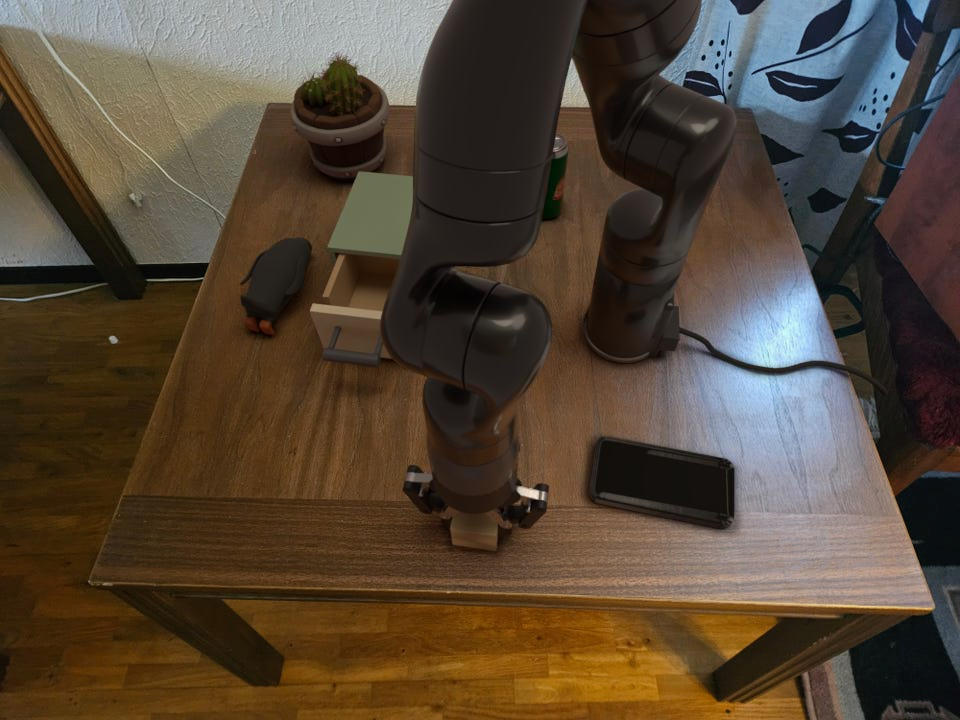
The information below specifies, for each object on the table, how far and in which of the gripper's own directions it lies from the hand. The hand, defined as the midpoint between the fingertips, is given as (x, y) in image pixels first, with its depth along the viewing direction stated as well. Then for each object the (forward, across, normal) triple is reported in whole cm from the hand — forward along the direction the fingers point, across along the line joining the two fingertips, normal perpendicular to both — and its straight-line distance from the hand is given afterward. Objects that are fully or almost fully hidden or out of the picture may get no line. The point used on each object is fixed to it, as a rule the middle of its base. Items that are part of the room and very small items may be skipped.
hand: (477, 525), depth 67 cm
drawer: (-1, -17, +24) cm, 29 cm away
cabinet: (0, -17, +36) cm, 40 cm away
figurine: (+1, -31, +28) cm, 42 cm away
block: (0, 0, 0) cm, 0 cm away
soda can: (+1, +2, +50) cm, 50 cm away
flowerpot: (+1, -30, +57) cm, 64 cm away
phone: (0, +19, +8) cm, 21 cm away
